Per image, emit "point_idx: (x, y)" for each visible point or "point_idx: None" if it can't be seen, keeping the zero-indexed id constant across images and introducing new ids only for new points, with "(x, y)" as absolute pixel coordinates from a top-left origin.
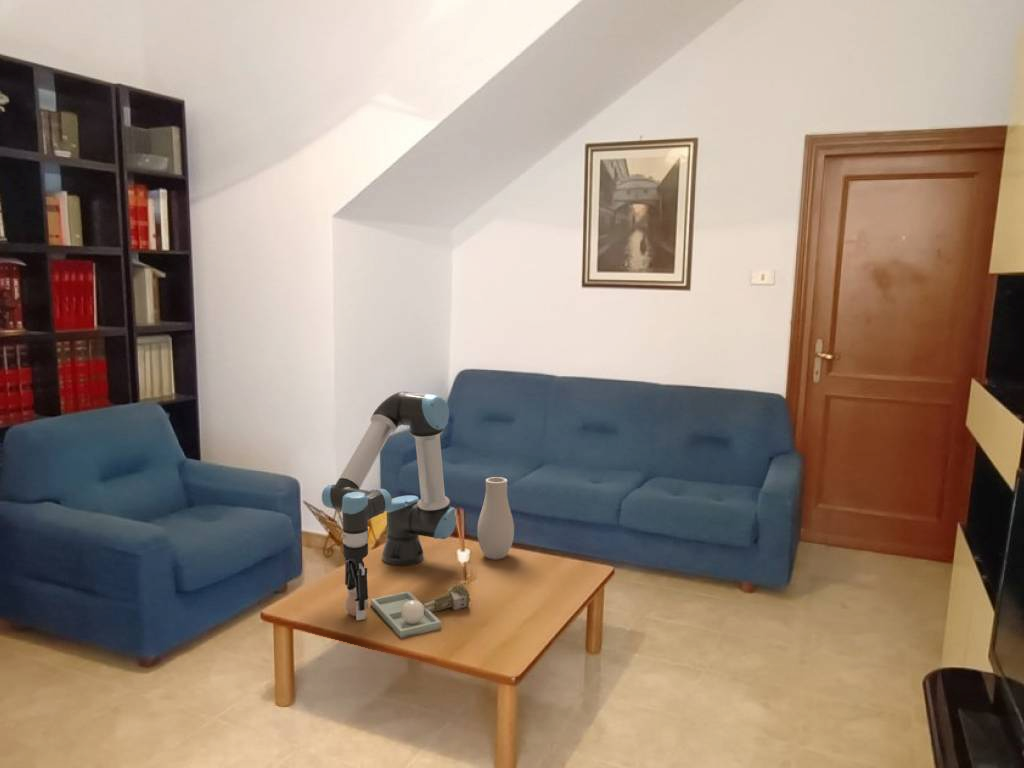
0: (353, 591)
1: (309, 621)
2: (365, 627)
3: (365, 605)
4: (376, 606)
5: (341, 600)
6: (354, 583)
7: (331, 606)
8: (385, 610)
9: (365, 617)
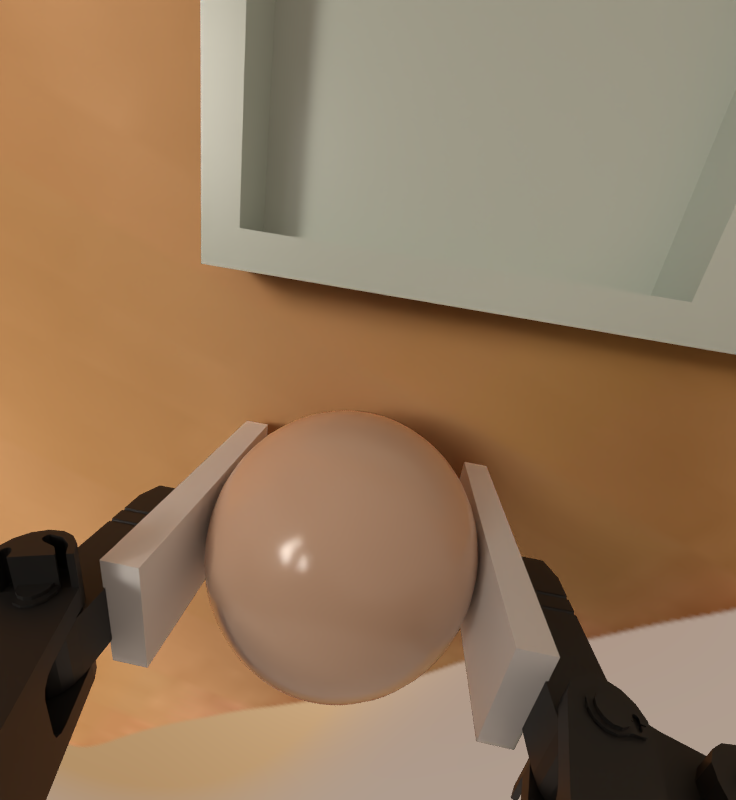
0: (158, 593)
1: (259, 691)
2: (593, 518)
3: (472, 517)
4: (394, 295)
5: (33, 417)
6: (27, 716)
7: (111, 518)
8: (473, 214)
9: (487, 471)
